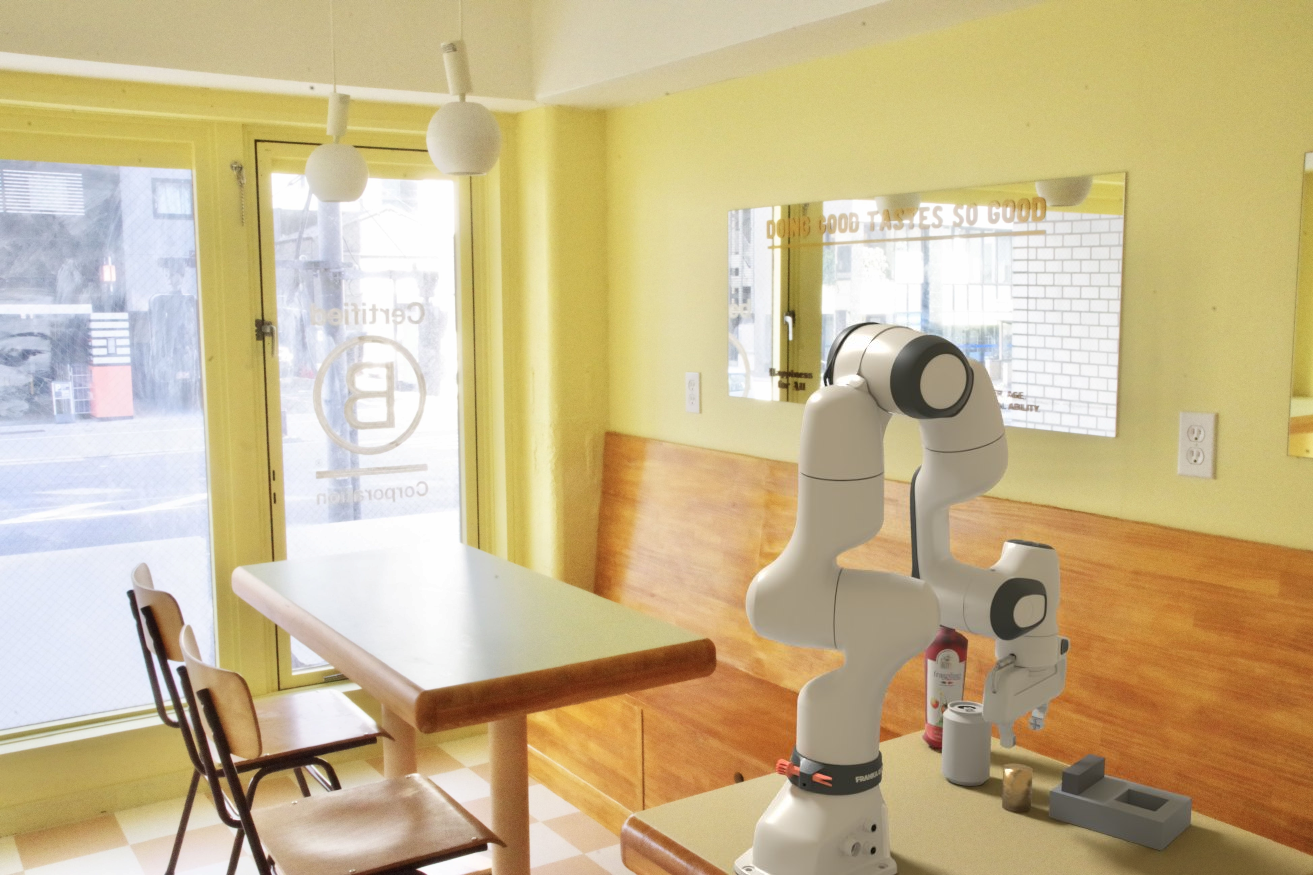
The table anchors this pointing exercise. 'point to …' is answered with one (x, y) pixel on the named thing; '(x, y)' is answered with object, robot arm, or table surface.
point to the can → (966, 744)
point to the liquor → (943, 680)
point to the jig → (1118, 805)
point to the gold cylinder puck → (1017, 788)
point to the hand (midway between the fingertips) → (1022, 737)
